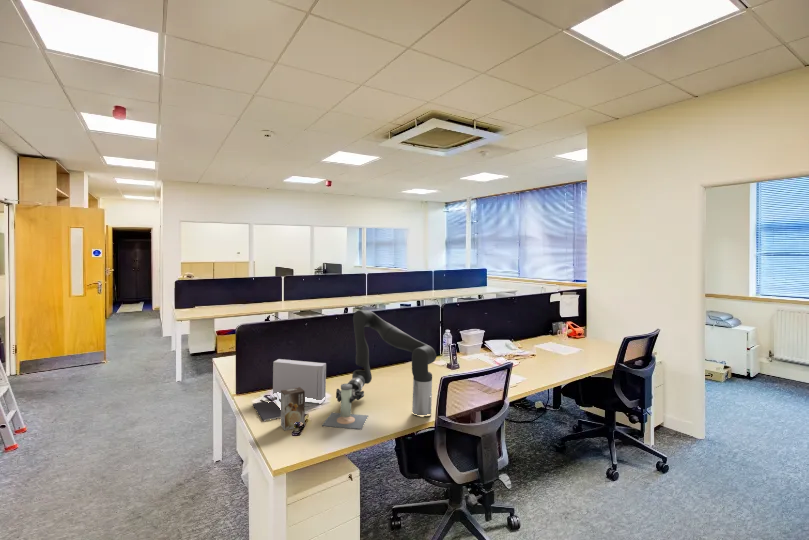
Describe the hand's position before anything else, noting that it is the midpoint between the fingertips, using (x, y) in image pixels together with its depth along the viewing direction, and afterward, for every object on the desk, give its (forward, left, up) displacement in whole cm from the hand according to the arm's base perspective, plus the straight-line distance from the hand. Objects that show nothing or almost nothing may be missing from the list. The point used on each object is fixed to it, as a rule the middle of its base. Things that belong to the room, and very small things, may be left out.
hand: (344, 400), depth 174 cm
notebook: (+38, -7, -11) cm, 41 cm away
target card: (0, -3, -11) cm, 11 cm away
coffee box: (+22, +6, -11) cm, 25 cm away
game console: (+31, -23, -11) cm, 40 cm away
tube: (0, -3, -8) cm, 8 cm away
